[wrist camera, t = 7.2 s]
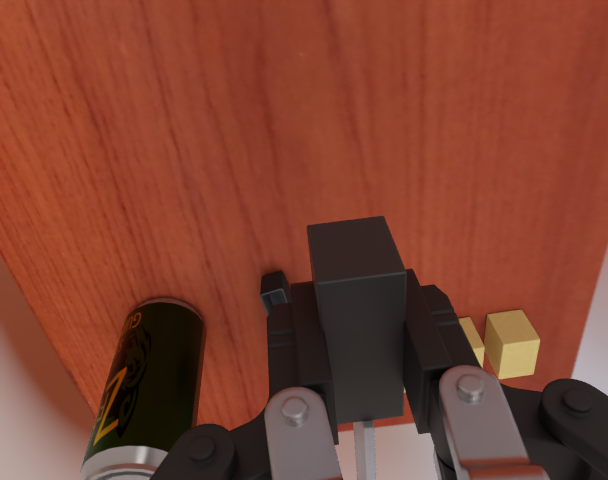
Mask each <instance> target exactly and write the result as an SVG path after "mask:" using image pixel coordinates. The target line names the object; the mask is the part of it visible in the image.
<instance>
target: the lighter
mask: <svg viewBox="0 0 608 480" xmlns="http://www.w3.org/2000/svg"><path fill="white" fill-rule="evenodd" d="M260 298H261V300H262V303H263V305H264V308H265V310H266V313H267V315H269V313H270V311H271V309H272V307H273V306H274V305H276V304H284V303H292V294H291V290H290V287H289V285H288V282H287V280H286V278H285V275H284V273H283V272H282V271H280V272H276V273H273V274H269V275H266V276H263V277H262V280H261V292H260Z"/></svg>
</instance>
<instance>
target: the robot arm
mask: <svg viewBox="0 0 608 480" xmlns="http://www.w3.org/2000/svg"><path fill="white" fill-rule="evenodd" d="M291 294H292V303H284V304H276V305H274V306H273V307H272V309H271V311H270V313H269V315H268V317H267V335H268V336H267V339H268V367H269V399H268V402H267V404H266V406H265V408H264V409H263V411H262V412H261V413H260V414H259V415H258V416H257V417H256V418H255V419H253V420H252V421H250V422H248V423H246V424H244V425H242V426H240V427H237V428H235V429H233V430H231V431H228V430H227V429H225V428H224V427H222V426H220V425H216V424H203V425H198V426H196V427H193V428H191V429H189V430H188V431H186V432H185V433H184V434H183V435H182V436H180V437H179V439H178V440H177V441H176V443H175V444H174V445H173V447H172V448H171V450H170V451H169V452H168V454H167V455H166V457H165V458H164V459H163V461H162V462H161V464H160V465H159V467H158V468H157V469H156V471H155V472H154V474H153V475H152V476H151V478H150V479H149V480H343V478H342V474H341V470H340V466H339V462H338V458H337V453H336V449H335V445H337V444H339V441H338V430H337V420H336V409H335V398H334V388H333V379H332V373H331V367H330V361H329V355H328V349H327V343H326V337H325V332H323V331H321V328H320V322H319V316H318V309H317V303H316V297H315V290H314V284H313V281H310V282H302V283H294V284H291ZM403 385H404V388H405V391H406V395H407V398H408V401H409V405H410V408H411V411H412V414H413V418H414V421H415V424H416V427H417V431H418V433H419V434H423V433H430V434H431V437H432V440H433V443H434V463H435V467H436V471H437V476H438V480H608V396H607V395H606V394H604V393H603V392H601V391H600V390H598V389H597V388H595V387H593V386H591V385H590V384H587V383H585V382H582V381H579V380H575V379H558V380H554V381H552V382H550V383H549V384H547V385H546V386H545V388H544V389H543V392H538V391H531V390H524V389H517V388H512V387H509V386H506V385H503V384H501V383H499V381H498V380H497V379H496V378H495V377H494V376H493V375H492V374H491V373H489V372H488V371H486V370H484V369H482V367H481V365H480V363H479V361H478V359H477V357H476V355H475V353H474V351H473V349H472V347H471V344H470V342H469V340H468V338H467V336H466V334H465V332H464V330H463V328H462V326H461V324H460V323H459V319H458V317H457V315H456V313H454V309H453V307H452V305H451V303H450V301H449V298H448V296H447V295H446V294H444V293H443V292H442V291H441V290H440V289H439V288H437V287H436V286H435V285H427V286H420V285H419V282H418V280H417V277H416V275H415V273H414V271H413V269H406V320H405V321H404V369H403Z"/></svg>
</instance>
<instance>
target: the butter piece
mask: <svg viewBox="0 0 608 480" xmlns="http://www.w3.org/2000/svg"><path fill="white" fill-rule="evenodd" d="M539 344H540V338H539V337H538V335H537V334H536V332H535V330H534V329H533V327H532V326H531V324H530V322H529V321H528V319H527V317H526V316H525V314H524V313H523V311H522V310H514V311H507V312H500V313H493V314H487V319H486V328H485V337H484V347H485V350H484V351H485V353H486V355H487V357H488V359H489V361H490V363H491V365H492V367H493V369H494V371H495V373H496V375H497V377H498V379H504V378H511V377H518V376H525V375H532V374H533V373H534V368H535V363H536V358H537V353H538V348H539Z"/></svg>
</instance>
